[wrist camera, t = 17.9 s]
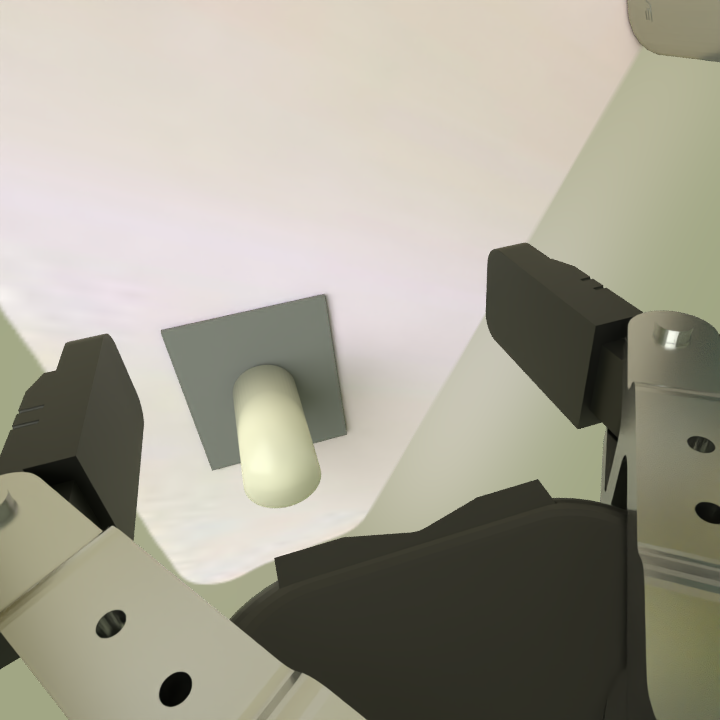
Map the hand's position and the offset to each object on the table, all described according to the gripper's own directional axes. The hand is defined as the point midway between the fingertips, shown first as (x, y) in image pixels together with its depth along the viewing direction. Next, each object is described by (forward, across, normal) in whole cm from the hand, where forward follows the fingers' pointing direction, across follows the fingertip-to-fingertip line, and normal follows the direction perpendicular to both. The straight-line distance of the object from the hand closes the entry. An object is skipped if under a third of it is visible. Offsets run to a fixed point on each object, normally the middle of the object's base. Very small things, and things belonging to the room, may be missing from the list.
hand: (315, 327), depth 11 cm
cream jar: (+25, +2, +20) cm, 32 cm away
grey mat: (+26, +2, +20) cm, 33 cm away
